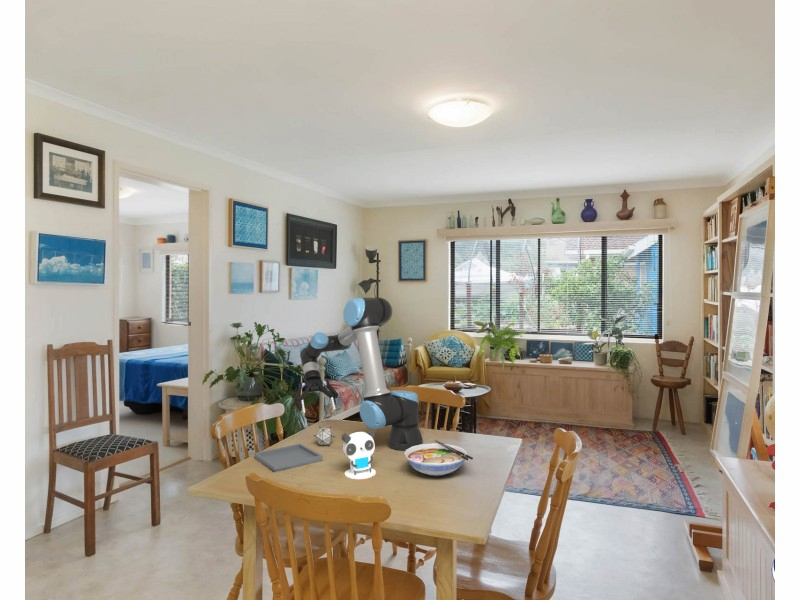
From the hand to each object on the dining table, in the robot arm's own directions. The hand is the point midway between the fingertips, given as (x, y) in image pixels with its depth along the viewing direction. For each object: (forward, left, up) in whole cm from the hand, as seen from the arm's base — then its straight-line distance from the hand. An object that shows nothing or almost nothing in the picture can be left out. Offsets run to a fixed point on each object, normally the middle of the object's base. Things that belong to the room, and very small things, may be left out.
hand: (319, 412), depth 225 cm
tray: (-15, +22, -12) cm, 29 cm away
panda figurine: (-46, +8, -13) cm, 49 cm away
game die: (-8, +2, -13) cm, 15 cm away
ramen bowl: (-63, -14, -13) cm, 66 cm away
